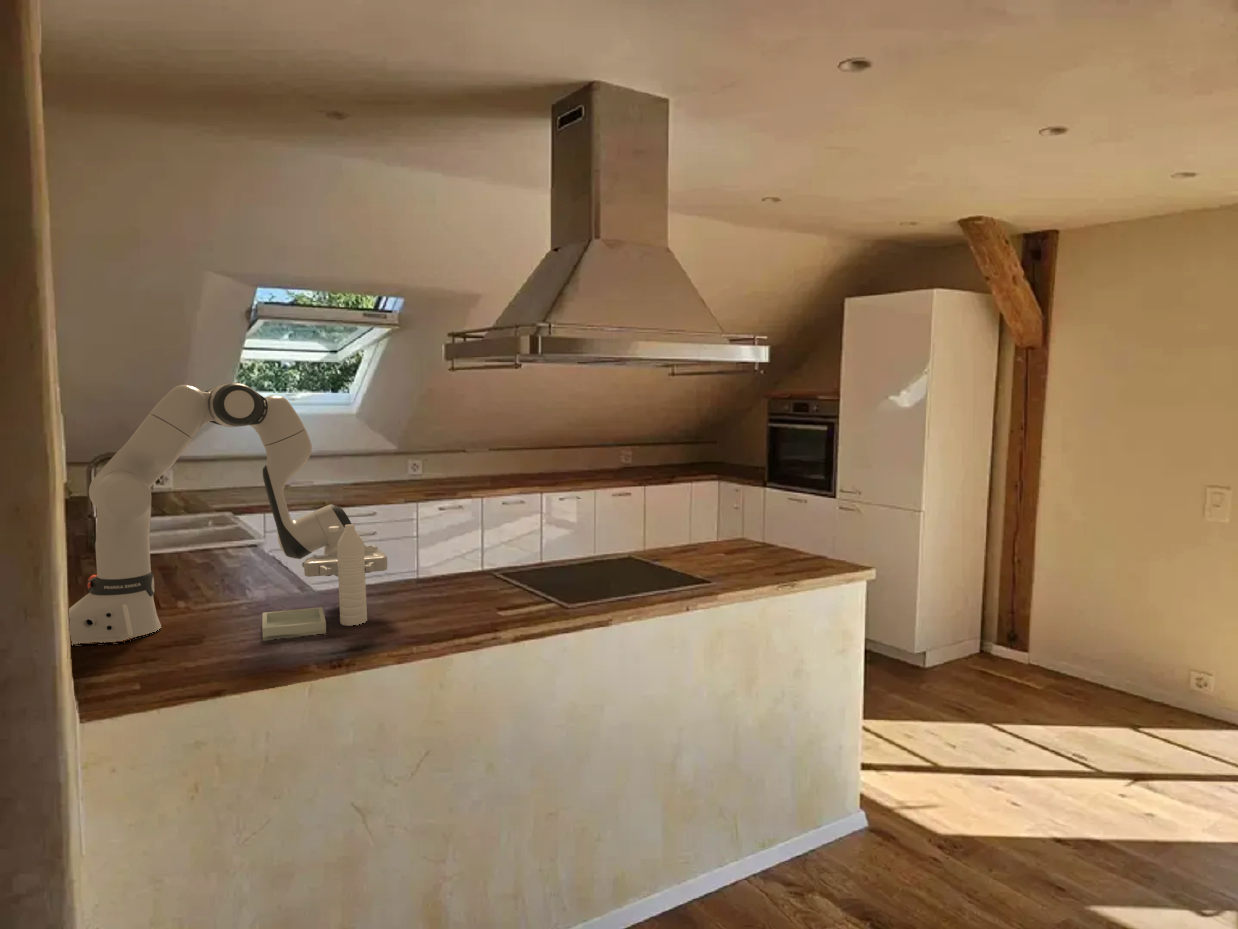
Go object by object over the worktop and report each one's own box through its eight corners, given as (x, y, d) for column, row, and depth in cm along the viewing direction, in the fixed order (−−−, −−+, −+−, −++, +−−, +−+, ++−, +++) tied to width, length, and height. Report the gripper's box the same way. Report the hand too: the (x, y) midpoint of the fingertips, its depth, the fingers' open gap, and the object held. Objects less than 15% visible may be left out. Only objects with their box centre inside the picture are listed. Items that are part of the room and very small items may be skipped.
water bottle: (358, 616, 215) (354, 520, 212) (372, 622, 211) (368, 524, 208) (326, 624, 209) (322, 525, 206) (340, 630, 205) (335, 529, 202)
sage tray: (262, 641, 196) (262, 628, 196) (263, 624, 209) (262, 612, 209) (326, 634, 201) (325, 622, 201) (322, 618, 214) (322, 607, 214)
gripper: (301, 551, 216) (303, 562, 204) (383, 545, 224) (390, 555, 212) (301, 575, 217) (304, 587, 204) (383, 568, 225) (390, 580, 212)
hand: (348, 571), depth 208 cm, fingers open, 8 cm apart
